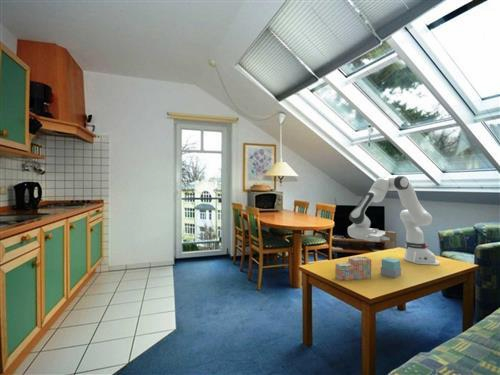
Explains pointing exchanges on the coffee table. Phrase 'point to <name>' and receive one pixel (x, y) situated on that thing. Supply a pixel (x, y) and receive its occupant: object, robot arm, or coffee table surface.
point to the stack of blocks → (354, 269)
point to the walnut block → (391, 242)
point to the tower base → (391, 272)
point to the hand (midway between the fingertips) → (392, 238)
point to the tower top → (391, 263)
